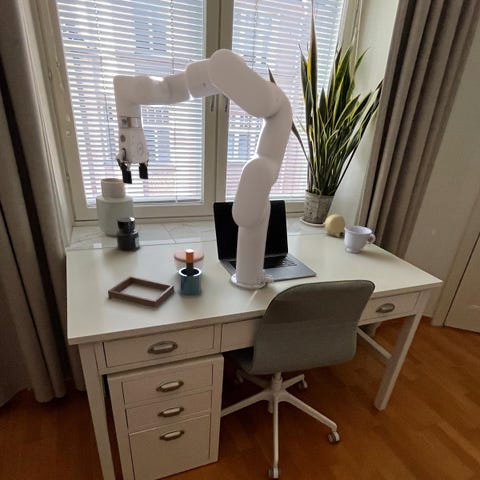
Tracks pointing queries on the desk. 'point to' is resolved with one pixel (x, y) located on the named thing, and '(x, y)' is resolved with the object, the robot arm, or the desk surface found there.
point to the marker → (189, 262)
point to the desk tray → (139, 300)
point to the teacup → (357, 238)
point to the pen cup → (190, 282)
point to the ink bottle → (127, 234)
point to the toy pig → (335, 225)
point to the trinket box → (181, 259)
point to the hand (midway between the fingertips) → (136, 181)
